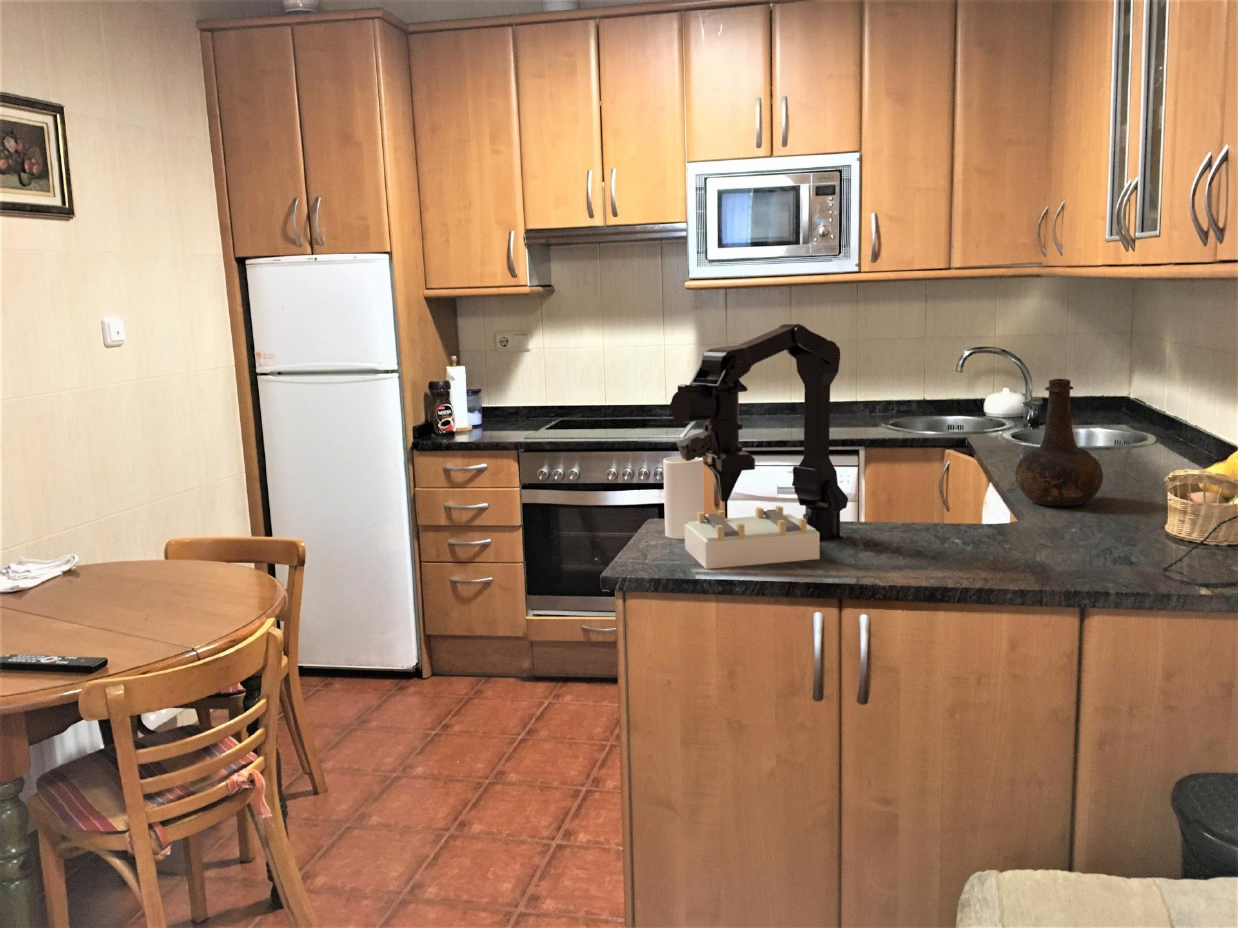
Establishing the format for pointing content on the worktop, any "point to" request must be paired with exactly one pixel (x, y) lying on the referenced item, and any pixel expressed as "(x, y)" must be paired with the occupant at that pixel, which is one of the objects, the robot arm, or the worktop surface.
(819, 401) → the robot arm
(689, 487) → the cup
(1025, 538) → the worktop surface
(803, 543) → the storage box
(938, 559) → the worktop surface
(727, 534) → the strap
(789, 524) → the strap
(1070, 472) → the glass bottle
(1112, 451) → the worktop surface
